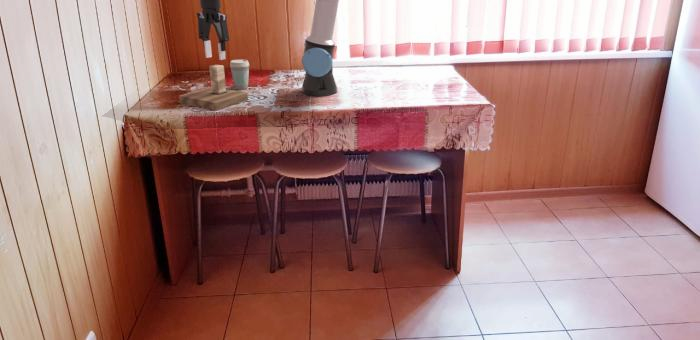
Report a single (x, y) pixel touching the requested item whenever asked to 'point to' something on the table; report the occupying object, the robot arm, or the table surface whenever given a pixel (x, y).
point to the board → (213, 98)
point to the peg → (217, 79)
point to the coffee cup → (240, 73)
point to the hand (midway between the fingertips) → (215, 58)
